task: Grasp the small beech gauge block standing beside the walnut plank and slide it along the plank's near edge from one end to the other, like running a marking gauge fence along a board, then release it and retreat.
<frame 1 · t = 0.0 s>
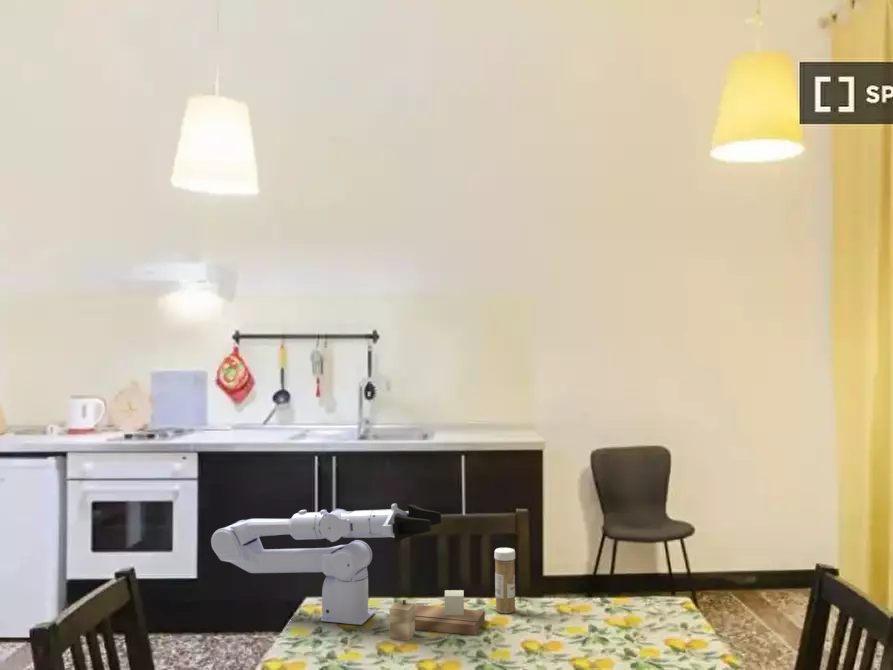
hand: (435, 521, 166), 22 cm above the table, tool horizontal, fingers open, 7 cm apart
plank: (442, 624, 167), on the table
sprinkles bottle: (505, 611, 175), on the table
gauge block: (402, 635, 160), on the table
offcut block: (454, 612, 168), point 2 cm above the table, touching plank
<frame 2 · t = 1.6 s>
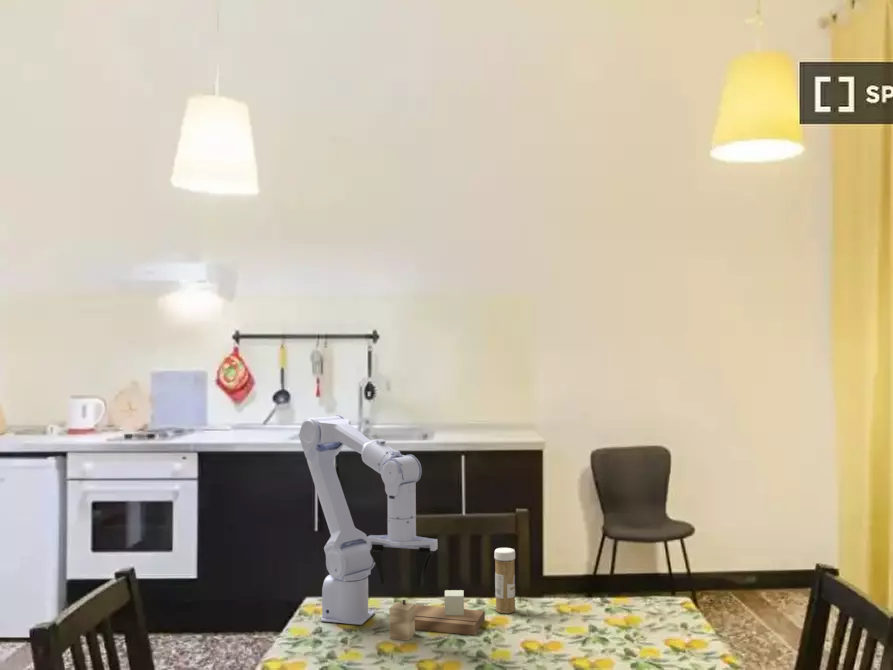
hand: (402, 583, 160), 10 cm above the table, tool pointing down, fingers open, 7 cm apart
nothing on the table moved.
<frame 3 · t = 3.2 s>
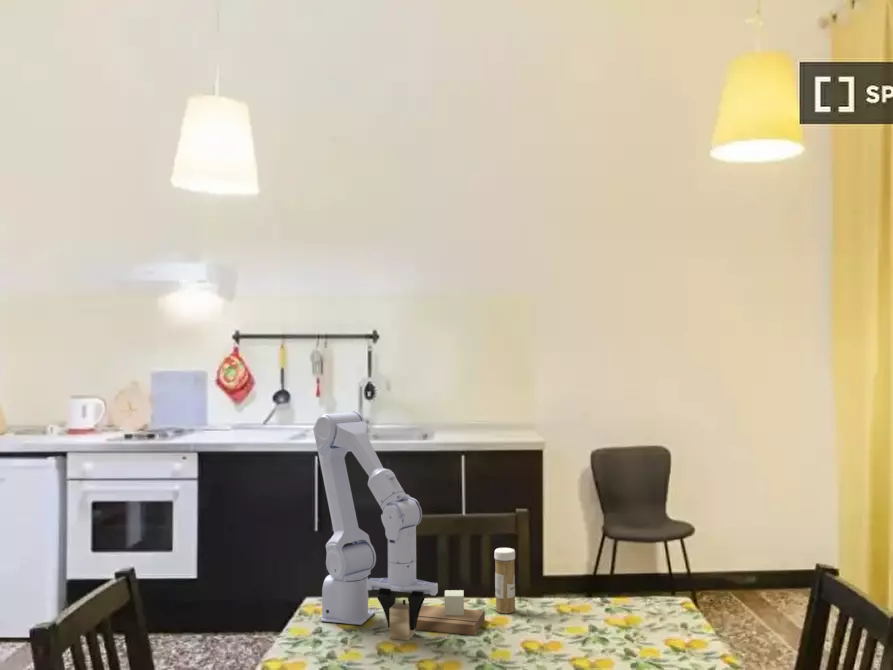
hand: (402, 627, 160), 2 cm above the table, tool pointing down, fingers closed on gauge block, 4 cm apart
gauge block: (402, 635, 160), on the table, touching gripper
everything else where it was.
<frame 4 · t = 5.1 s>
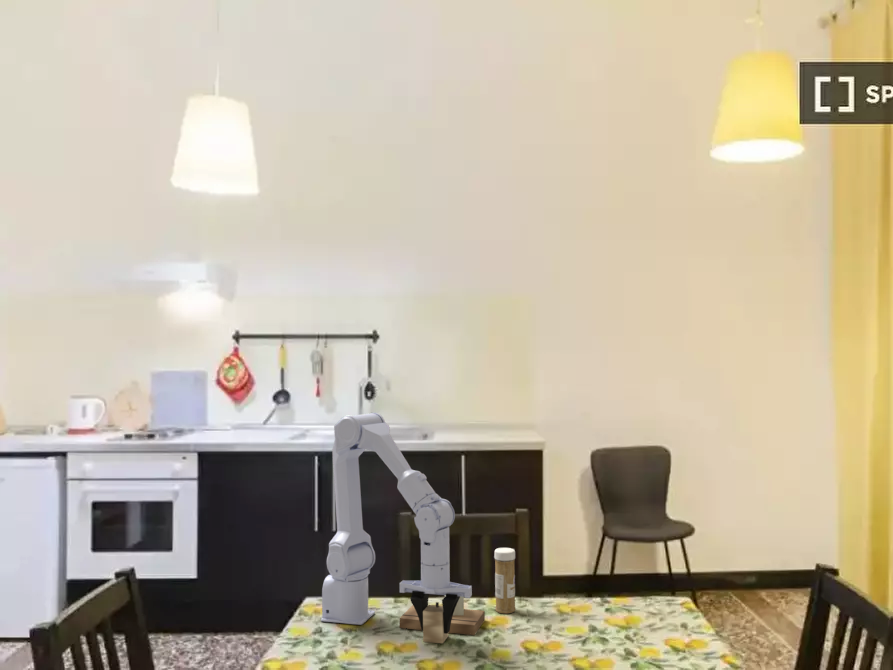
hand: (435, 630, 158), 2 cm above the table, tool pointing down, fingers closed on gauge block, 4 cm apart
gauge block: (435, 638, 158), on the table, touching gripper
everything else where it was.
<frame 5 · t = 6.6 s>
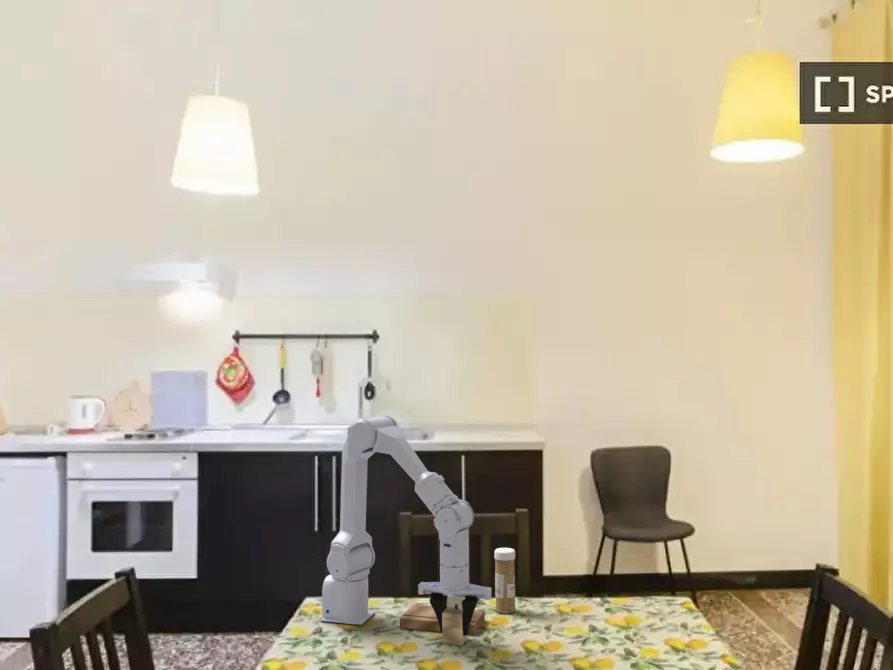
hand: (454, 632, 157), 2 cm above the table, tool pointing down, fingers closed on gauge block, 4 cm apart
gauge block: (454, 640, 157), on the table, touching gripper
everything else where it was.
when the fingers open (2 cm above the table, at t = 7.3 s): gauge block stays where it is, on the table.
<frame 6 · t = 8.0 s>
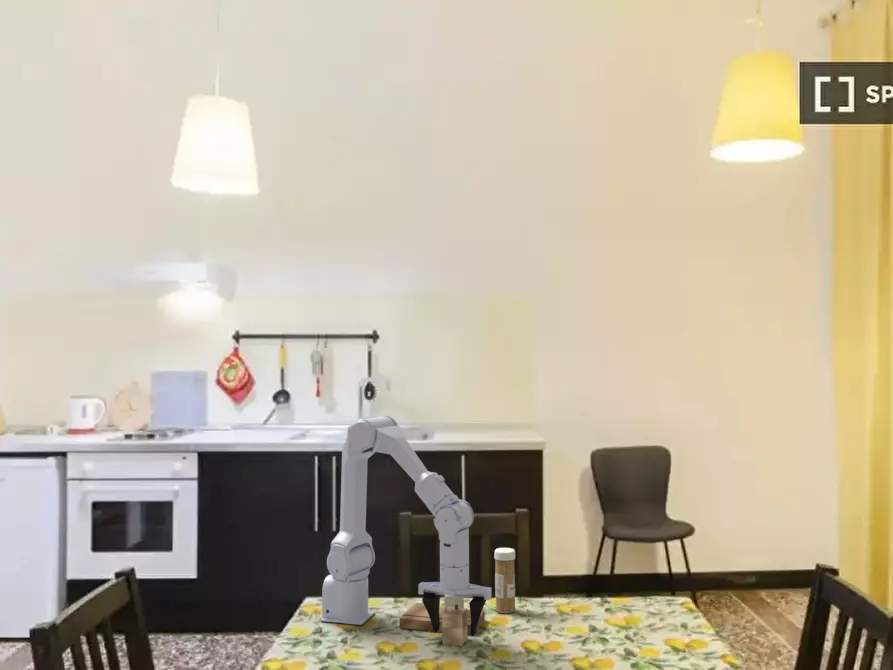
hand: (454, 632, 157), 2 cm above the table, tool pointing down, fingers open, 7 cm apart
gauge block: (455, 641, 157), on the table
everything else where it was.
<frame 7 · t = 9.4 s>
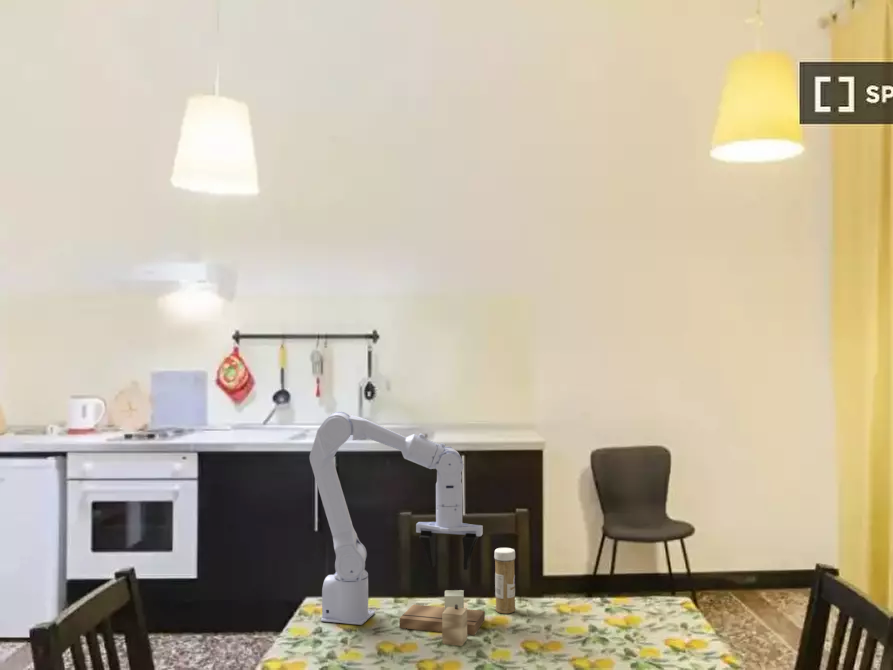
hand: (449, 567, 172), 10 cm above the table, tool pointing down, fingers open, 7 cm apart
nothing on the table moved.
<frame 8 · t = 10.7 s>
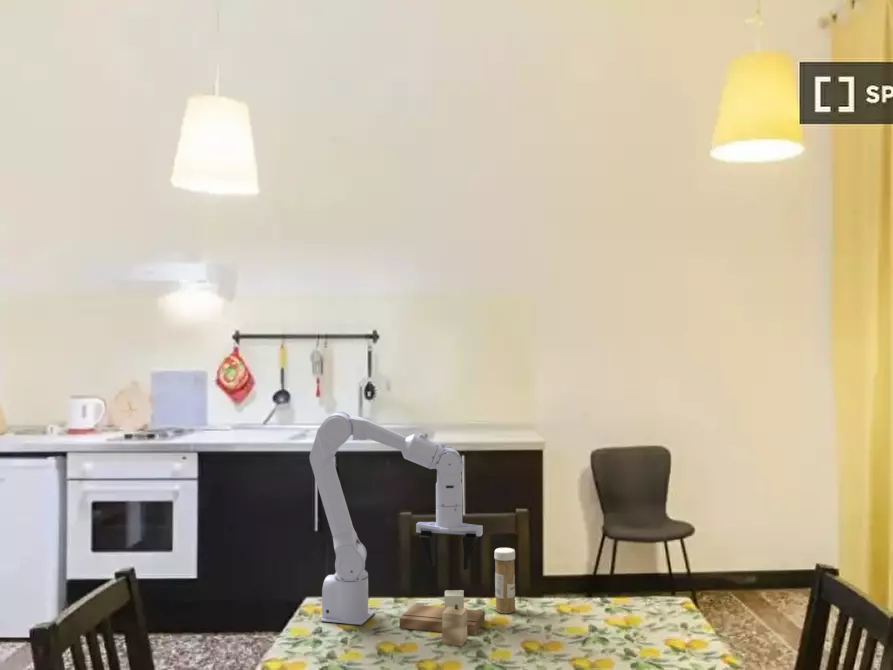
hand: (449, 567, 172), 10 cm above the table, tool pointing down, fingers open, 7 cm apart
nothing on the table moved.
at the end: gauge block 0.5 cm from the target spot, on the table; gauge block tilted 0°; gauge block moved 11.0 cm from its start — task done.
